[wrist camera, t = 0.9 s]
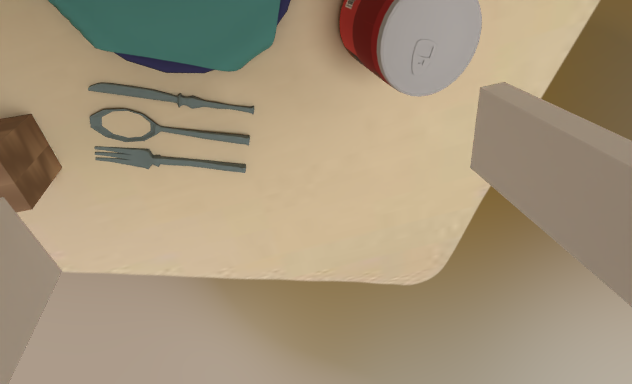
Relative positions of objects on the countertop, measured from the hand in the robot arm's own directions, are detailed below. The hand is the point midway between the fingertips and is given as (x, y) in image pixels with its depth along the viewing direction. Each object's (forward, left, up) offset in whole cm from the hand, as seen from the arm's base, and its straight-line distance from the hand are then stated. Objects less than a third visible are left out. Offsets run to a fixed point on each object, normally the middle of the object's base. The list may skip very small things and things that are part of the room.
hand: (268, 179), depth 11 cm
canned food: (+1, +13, -27) cm, 30 cm away
